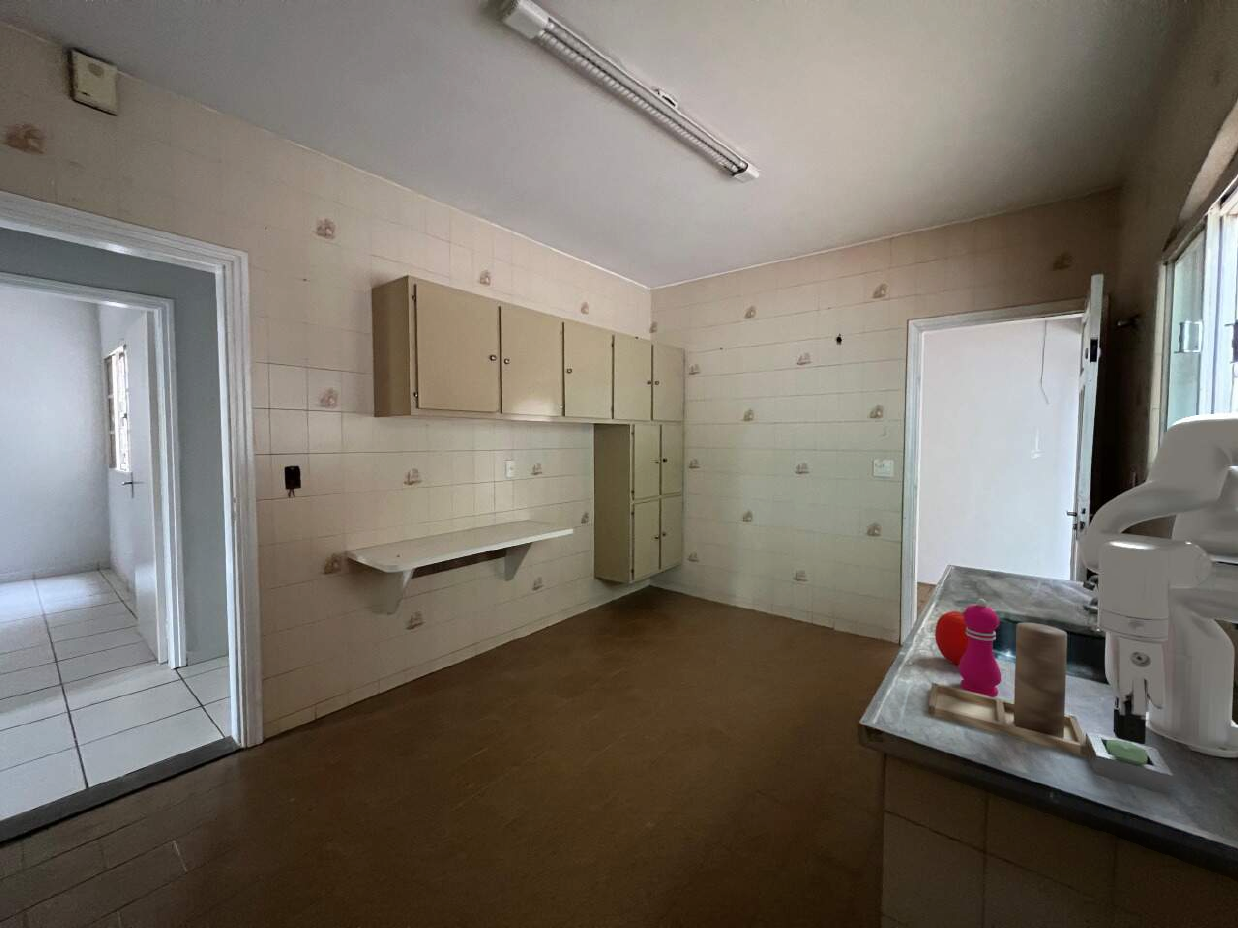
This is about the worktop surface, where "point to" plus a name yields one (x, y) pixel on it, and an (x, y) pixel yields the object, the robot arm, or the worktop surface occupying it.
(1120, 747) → the button
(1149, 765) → the button box
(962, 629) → the tomato
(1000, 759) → the worktop surface
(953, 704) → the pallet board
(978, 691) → the pepper mill
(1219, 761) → the worktop surface
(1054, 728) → the seated billet
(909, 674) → the worktop surface
